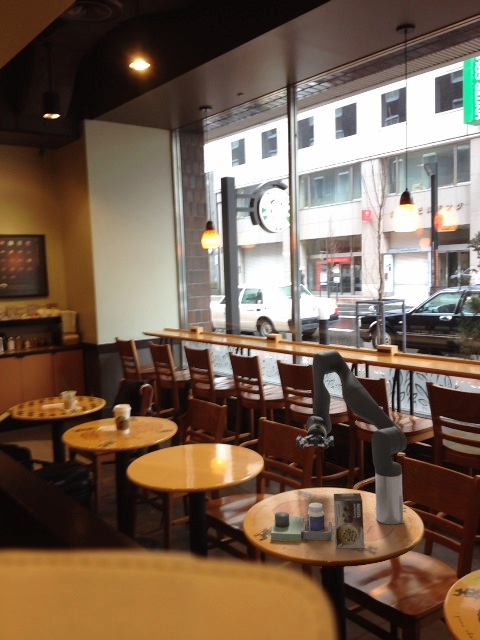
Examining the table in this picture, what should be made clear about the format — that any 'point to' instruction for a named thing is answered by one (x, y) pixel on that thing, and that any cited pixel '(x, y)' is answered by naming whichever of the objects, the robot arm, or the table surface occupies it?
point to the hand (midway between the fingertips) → (313, 446)
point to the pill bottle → (316, 517)
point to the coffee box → (348, 520)
